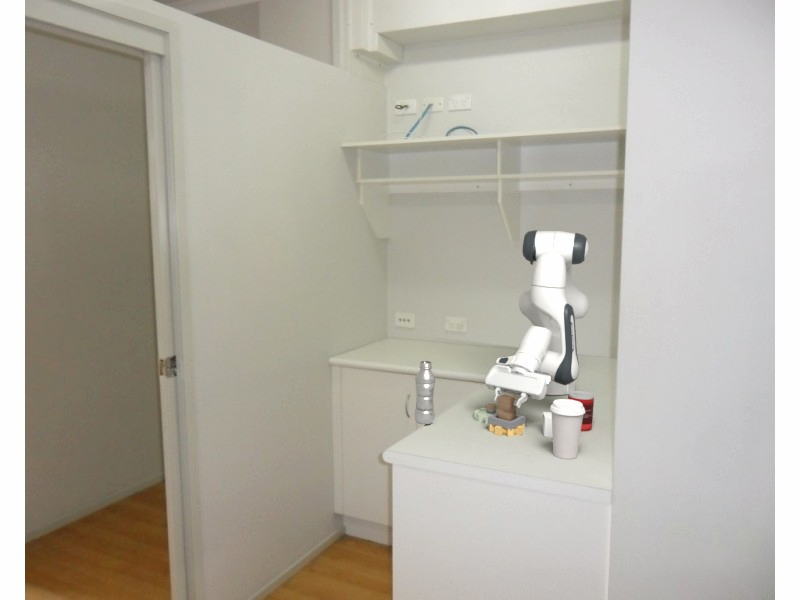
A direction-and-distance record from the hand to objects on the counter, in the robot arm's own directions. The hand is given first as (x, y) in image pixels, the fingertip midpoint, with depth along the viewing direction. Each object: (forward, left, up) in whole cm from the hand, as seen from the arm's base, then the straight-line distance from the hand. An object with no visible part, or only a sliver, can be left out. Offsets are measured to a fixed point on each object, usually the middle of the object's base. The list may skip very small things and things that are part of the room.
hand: (506, 404), depth 195 cm
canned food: (-16, +19, -9) cm, 26 cm away
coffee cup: (+10, +21, -9) cm, 25 cm away
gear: (-9, -8, -9) cm, 14 cm away
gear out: (-1, 0, -9) cm, 9 cm away
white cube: (-5, +14, -9) cm, 17 cm away
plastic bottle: (+6, -25, -9) cm, 27 cm away
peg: (-1, 0, -6) cm, 6 cm away
